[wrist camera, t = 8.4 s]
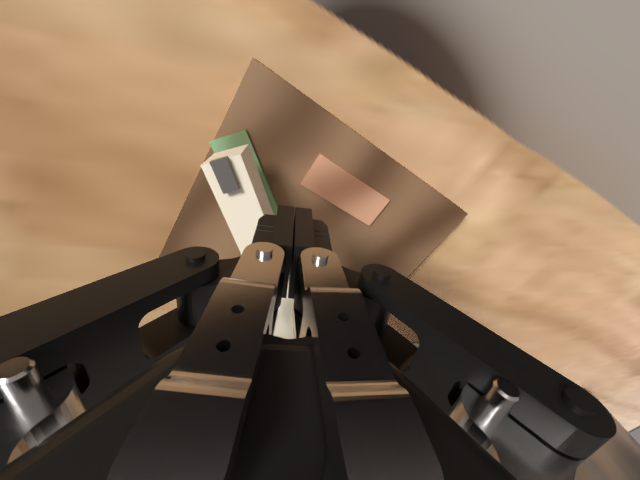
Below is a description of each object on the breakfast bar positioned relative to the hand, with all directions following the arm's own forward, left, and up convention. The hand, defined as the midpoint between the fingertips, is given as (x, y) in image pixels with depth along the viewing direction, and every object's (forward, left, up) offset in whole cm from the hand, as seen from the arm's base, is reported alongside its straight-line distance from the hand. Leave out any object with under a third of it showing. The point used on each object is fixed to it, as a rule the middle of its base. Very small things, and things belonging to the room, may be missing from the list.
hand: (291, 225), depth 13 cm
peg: (0, +4, -7) cm, 8 cm away
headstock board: (-4, +4, -9) cm, 10 cm away
